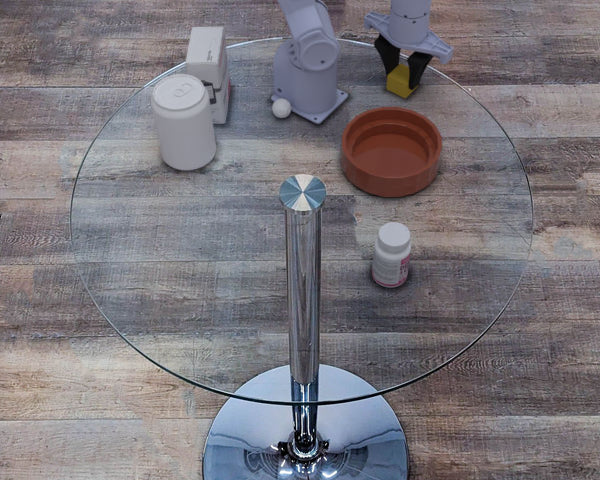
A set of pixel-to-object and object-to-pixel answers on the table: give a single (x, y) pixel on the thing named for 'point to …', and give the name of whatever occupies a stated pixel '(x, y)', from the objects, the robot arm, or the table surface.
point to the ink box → (210, 67)
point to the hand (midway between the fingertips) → (403, 80)
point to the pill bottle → (391, 255)
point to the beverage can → (183, 122)
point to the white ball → (281, 108)
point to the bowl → (391, 151)
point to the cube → (399, 81)
